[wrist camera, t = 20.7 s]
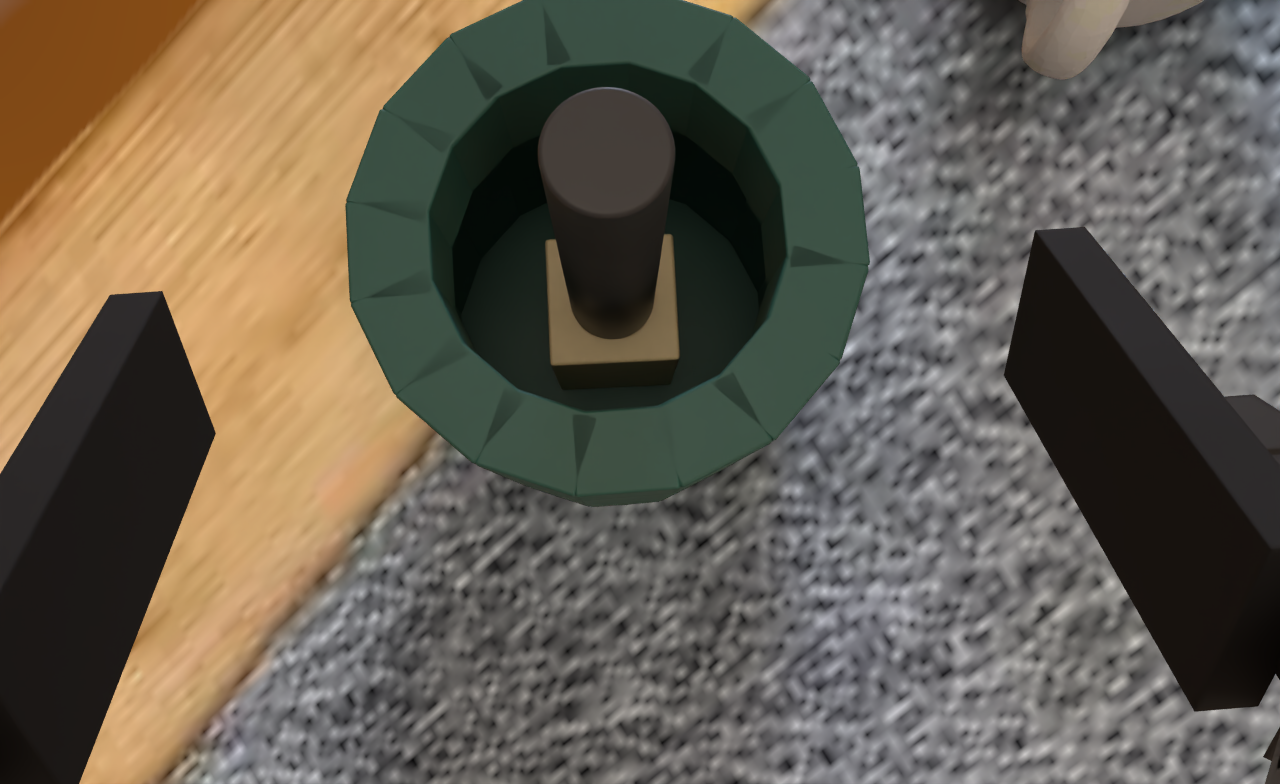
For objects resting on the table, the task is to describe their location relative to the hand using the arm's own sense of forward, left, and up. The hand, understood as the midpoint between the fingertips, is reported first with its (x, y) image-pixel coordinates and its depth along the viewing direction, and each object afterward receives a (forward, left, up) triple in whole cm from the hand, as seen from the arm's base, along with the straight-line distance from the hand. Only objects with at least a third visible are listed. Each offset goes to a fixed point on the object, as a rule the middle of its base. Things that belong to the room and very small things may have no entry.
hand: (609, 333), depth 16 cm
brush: (-1, +3, -16) cm, 16 cm away
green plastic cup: (-1, +3, -17) cm, 17 cm away
